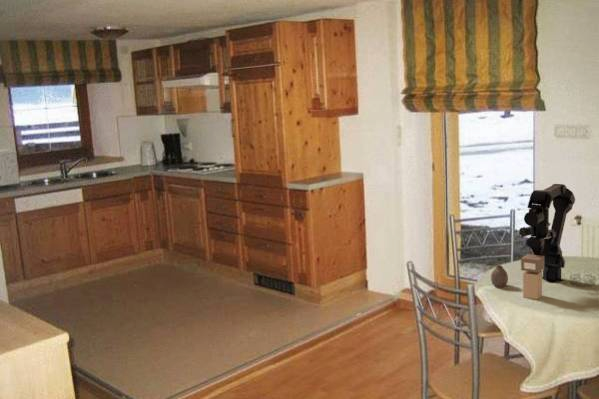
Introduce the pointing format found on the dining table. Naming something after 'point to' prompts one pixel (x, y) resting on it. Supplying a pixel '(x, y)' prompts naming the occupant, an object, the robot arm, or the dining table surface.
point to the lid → (532, 263)
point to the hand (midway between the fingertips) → (540, 257)
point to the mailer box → (532, 285)
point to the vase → (499, 277)
